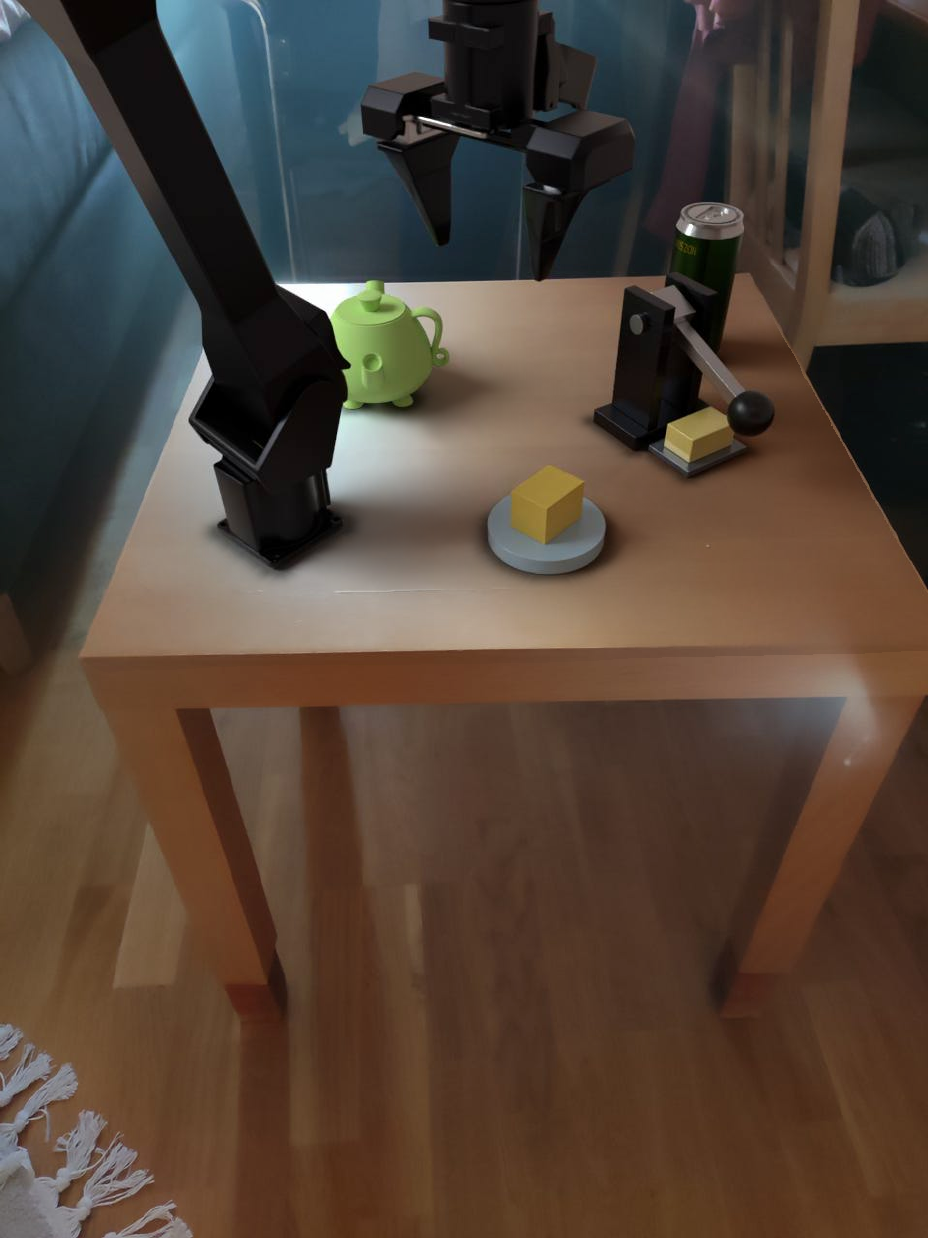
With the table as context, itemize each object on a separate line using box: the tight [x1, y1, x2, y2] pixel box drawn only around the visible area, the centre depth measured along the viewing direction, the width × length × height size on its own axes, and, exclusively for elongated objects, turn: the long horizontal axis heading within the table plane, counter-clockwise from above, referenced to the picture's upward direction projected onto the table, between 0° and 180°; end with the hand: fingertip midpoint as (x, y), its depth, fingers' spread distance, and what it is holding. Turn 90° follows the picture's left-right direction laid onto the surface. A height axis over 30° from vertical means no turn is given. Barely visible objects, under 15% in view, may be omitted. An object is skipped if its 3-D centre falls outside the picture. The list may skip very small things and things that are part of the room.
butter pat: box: [510, 463, 586, 545], centre depth 59 cm, size 4×3×3 cm
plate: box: [487, 494, 607, 575], centre depth 61 cm, size 8×8×1 cm
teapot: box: [329, 279, 451, 410], centre depth 72 cm, size 11×12×8 cm
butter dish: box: [648, 406, 748, 478], centre depth 67 cm, size 4×6×2 cm
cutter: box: [592, 272, 718, 451], centre depth 68 cm, size 5×8×11 cm, turn 123°
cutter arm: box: [650, 285, 776, 438], centre depth 63 cm, size 13×3×3 cm, turn 33°
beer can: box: [668, 201, 745, 356], centre depth 75 cm, size 5×5×12 cm
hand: (490, 261), depth 63 cm, fingers open, 9 cm apart
